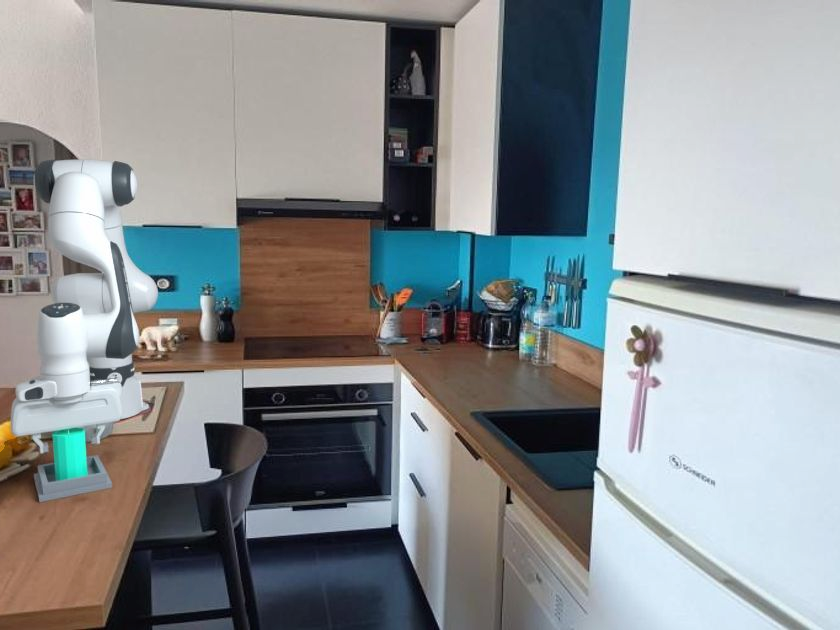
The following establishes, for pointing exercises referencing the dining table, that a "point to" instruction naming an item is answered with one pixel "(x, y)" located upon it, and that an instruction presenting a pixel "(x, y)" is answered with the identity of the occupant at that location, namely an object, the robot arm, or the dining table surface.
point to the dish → (93, 428)
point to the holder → (71, 481)
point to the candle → (69, 453)
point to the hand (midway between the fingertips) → (70, 448)
